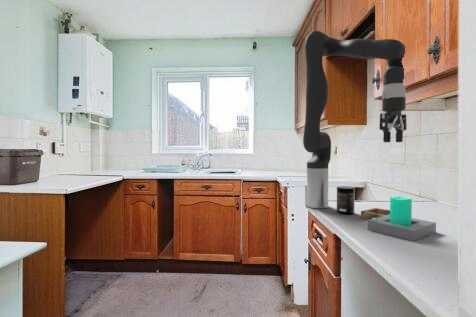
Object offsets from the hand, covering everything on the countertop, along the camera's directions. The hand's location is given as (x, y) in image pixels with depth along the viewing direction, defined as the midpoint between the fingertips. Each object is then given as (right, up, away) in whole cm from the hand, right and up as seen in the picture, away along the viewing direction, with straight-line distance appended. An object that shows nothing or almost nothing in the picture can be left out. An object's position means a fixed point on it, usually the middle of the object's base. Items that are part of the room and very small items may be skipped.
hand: (393, 142), depth 106 cm
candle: (-6, -29, -15) cm, 33 cm away
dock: (-6, -29, -15) cm, 33 cm away
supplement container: (-14, -28, +10) cm, 33 cm away
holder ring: (-4, -28, +1) cm, 28 cm away
